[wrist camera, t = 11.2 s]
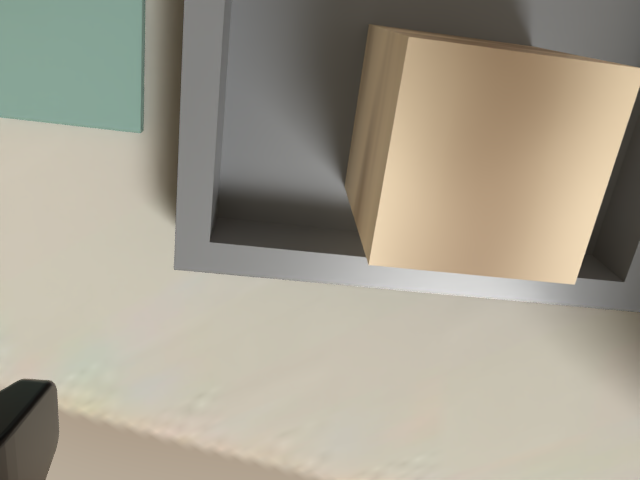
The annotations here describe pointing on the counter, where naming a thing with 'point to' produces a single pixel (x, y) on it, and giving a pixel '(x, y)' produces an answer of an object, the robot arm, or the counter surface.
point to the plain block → (482, 153)
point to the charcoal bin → (336, 134)
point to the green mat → (73, 62)
